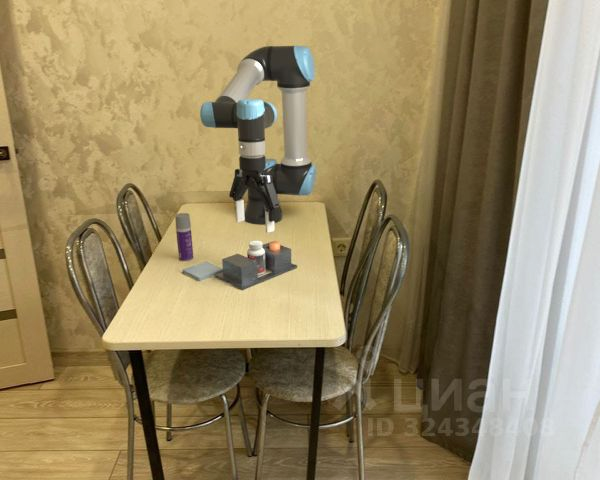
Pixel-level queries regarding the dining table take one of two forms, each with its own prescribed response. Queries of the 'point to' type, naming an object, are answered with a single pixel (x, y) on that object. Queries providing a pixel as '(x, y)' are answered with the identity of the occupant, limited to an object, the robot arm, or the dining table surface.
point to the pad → (202, 270)
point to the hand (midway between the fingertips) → (254, 226)
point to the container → (184, 237)
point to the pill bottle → (257, 255)
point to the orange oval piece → (274, 245)
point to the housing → (255, 267)
